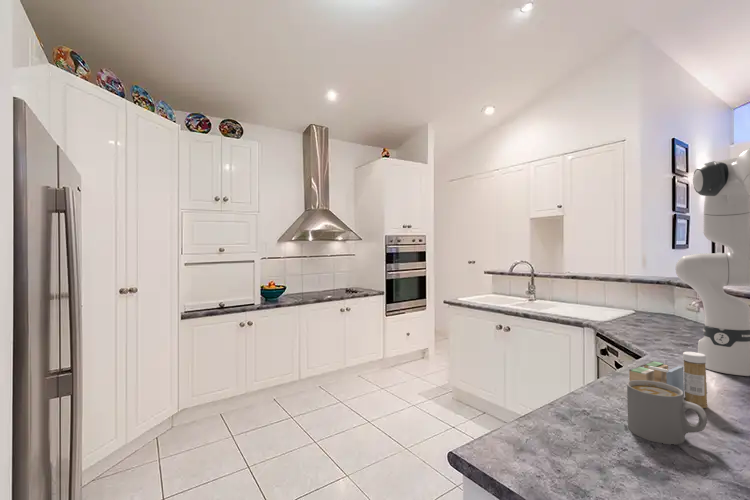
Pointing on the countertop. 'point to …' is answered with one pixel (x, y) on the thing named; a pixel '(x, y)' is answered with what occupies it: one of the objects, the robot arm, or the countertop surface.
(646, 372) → the tan and green block
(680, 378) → the gauge plunger
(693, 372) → the sprinkles bottle
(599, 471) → the countertop surface
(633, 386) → the coffee mug
